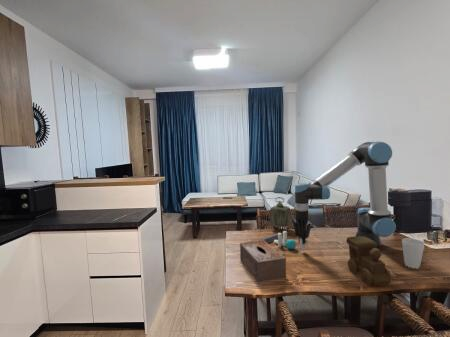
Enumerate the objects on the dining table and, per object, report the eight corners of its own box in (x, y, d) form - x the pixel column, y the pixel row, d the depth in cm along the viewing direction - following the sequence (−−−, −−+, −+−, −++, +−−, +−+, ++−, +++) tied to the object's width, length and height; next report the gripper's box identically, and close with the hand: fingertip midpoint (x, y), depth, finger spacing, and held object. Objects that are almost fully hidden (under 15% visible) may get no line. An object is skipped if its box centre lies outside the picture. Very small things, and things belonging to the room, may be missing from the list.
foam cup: (419, 262, 137) (420, 239, 136) (426, 271, 128) (427, 245, 127) (398, 260, 140) (399, 237, 139) (404, 268, 131) (405, 243, 130)
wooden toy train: (344, 268, 133) (344, 237, 132) (365, 266, 134) (365, 235, 133) (370, 289, 113) (371, 252, 112) (394, 287, 115) (395, 251, 113)
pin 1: (282, 246, 164) (282, 233, 163) (280, 247, 162) (280, 234, 162) (279, 245, 166) (279, 232, 165) (277, 246, 164) (277, 233, 164)
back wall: (280, 237, 179) (280, 233, 179) (260, 245, 167) (260, 240, 167) (278, 237, 181) (278, 233, 181) (258, 244, 168) (258, 240, 168)
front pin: (286, 242, 164) (275, 239, 171) (284, 243, 163) (273, 240, 169) (286, 246, 165) (276, 242, 171) (284, 247, 163) (273, 243, 170)
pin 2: (287, 244, 167) (287, 231, 166) (285, 245, 165) (285, 232, 165) (284, 243, 169) (284, 230, 168) (282, 244, 167) (282, 231, 167)
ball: (290, 236, 162) (288, 243, 165) (285, 239, 158) (283, 247, 161) (298, 241, 158) (296, 249, 161) (293, 244, 154) (291, 252, 157)
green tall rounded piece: (291, 229, 197) (290, 197, 195) (287, 232, 190) (286, 199, 188) (273, 226, 205) (272, 195, 203) (268, 229, 198) (268, 197, 195)
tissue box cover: (240, 260, 147) (240, 243, 146) (263, 256, 150) (263, 239, 150) (258, 282, 122) (258, 262, 121) (286, 277, 126) (285, 257, 125)
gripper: (288, 209, 155) (289, 247, 157) (307, 212, 145) (308, 253, 147) (296, 206, 160) (296, 244, 162) (315, 210, 150) (315, 249, 152)
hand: (302, 248), depth 154 cm, fingers closed
